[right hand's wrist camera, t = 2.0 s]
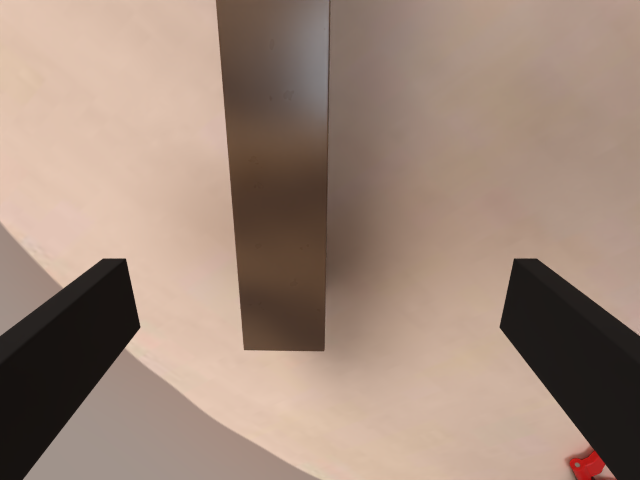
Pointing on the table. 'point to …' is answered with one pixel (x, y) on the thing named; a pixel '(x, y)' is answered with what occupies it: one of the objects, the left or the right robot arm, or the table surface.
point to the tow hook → (587, 467)
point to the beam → (278, 165)
